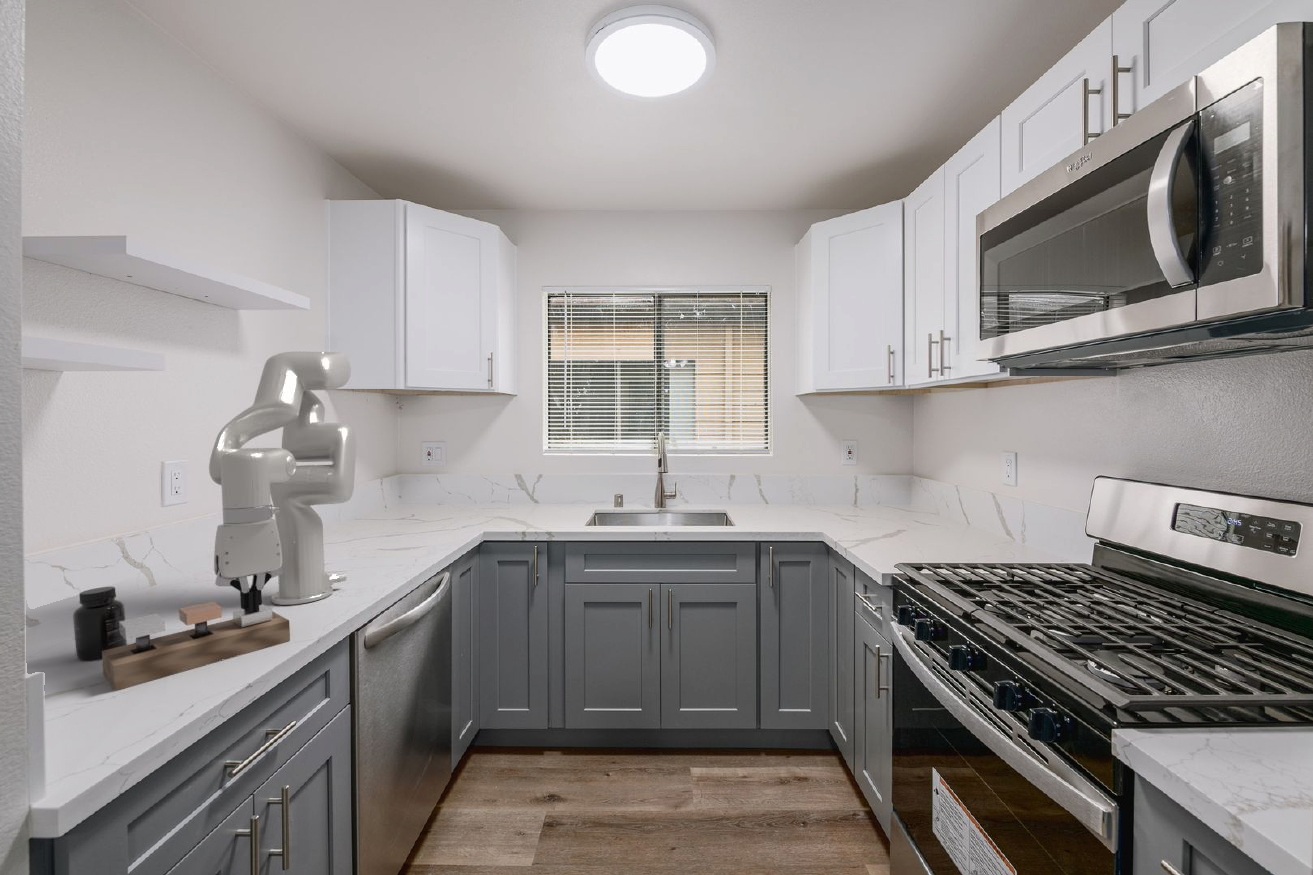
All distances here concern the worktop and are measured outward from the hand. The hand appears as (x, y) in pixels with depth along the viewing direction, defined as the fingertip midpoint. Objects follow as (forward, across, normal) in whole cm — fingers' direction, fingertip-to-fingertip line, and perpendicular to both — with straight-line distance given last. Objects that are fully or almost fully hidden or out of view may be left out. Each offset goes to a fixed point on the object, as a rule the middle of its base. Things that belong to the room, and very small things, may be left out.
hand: (251, 610), depth 111 cm
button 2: (+6, 0, 0) cm, 6 cm away
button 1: (+3, +16, 0) cm, 16 cm away
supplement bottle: (+6, +19, -17) cm, 26 cm away
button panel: (+6, +8, 0) cm, 10 cm away
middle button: (+3, +8, 0) cm, 8 cm away
